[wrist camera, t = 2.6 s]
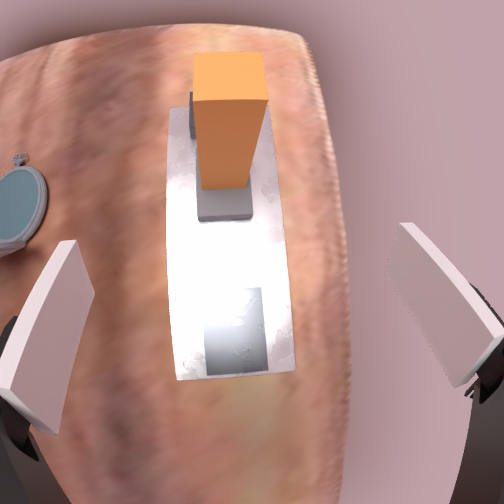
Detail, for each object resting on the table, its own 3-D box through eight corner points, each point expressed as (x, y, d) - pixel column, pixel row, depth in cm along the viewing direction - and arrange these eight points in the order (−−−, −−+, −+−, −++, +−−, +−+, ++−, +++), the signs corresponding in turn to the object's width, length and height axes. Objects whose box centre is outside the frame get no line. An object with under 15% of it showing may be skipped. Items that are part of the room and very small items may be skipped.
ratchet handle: (197, 68, 31) (195, -30, 17) (238, 67, 32) (252, -30, 18) (197, 221, 28) (182, 140, 14) (251, 218, 28) (283, 137, 14)
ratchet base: (171, 115, 32) (166, 91, 27) (266, 112, 33) (272, 88, 28) (178, 376, 27) (172, 388, 22) (291, 367, 28) (304, 377, 24)
